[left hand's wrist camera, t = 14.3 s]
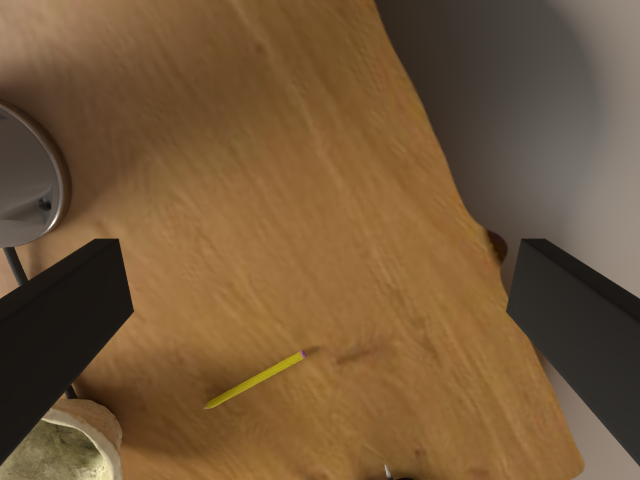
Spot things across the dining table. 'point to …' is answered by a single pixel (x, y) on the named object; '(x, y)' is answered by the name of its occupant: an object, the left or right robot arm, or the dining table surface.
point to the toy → (391, 476)
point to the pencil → (255, 379)
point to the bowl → (69, 445)
